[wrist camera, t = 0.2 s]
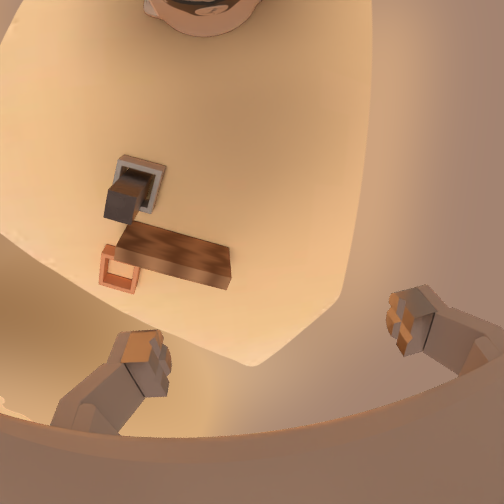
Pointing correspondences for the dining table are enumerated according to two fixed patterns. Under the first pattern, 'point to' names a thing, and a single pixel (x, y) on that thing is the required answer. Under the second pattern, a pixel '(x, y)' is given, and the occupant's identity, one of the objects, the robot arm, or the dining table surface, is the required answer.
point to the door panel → (174, 255)
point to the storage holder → (146, 167)
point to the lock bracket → (114, 280)
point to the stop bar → (127, 196)
